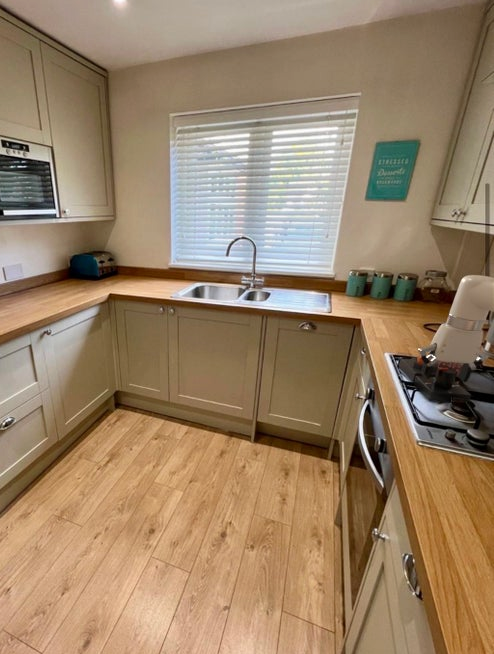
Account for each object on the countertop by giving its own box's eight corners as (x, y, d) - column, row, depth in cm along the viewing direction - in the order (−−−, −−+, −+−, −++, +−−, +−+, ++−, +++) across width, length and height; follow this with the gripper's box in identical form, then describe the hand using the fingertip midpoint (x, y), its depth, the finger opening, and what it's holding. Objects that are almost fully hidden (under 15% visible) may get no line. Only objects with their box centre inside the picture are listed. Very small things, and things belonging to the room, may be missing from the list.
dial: (446, 381, 97) (452, 365, 95) (455, 389, 93) (461, 373, 91) (429, 380, 97) (435, 364, 95) (438, 388, 93) (444, 371, 91)
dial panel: (448, 387, 100) (452, 378, 98) (467, 404, 91) (471, 394, 90) (413, 384, 101) (415, 375, 100) (428, 400, 93) (431, 391, 92)
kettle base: (427, 369, 110) (431, 355, 108) (444, 384, 101) (449, 370, 99) (398, 367, 111) (402, 353, 110) (412, 382, 102) (417, 367, 100)
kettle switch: (428, 360, 106) (429, 355, 105) (434, 366, 102) (436, 361, 102) (414, 359, 107) (416, 354, 106) (420, 365, 103) (422, 360, 102)
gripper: (491, 320, 90) (468, 374, 97) (422, 315, 92) (404, 369, 99) (511, 330, 83) (485, 388, 90) (436, 325, 86) (417, 382, 92)
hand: (443, 378), depth 95 cm, fingers open, 9 cm apart
